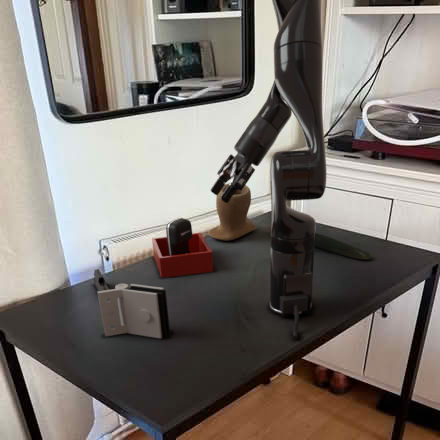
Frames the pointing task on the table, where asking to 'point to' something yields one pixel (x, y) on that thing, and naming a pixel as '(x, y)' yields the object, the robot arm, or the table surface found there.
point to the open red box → (183, 257)
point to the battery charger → (178, 236)
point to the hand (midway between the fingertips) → (218, 197)
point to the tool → (339, 247)
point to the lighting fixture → (100, 282)
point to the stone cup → (233, 215)
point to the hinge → (135, 310)
